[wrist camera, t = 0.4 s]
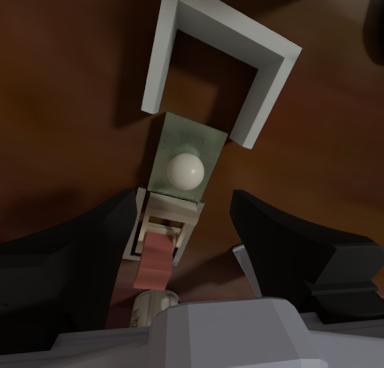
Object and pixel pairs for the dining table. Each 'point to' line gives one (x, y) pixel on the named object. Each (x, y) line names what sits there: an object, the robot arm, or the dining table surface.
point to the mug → (151, 306)
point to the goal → (229, 43)
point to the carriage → (161, 239)
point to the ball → (185, 171)
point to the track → (167, 149)
